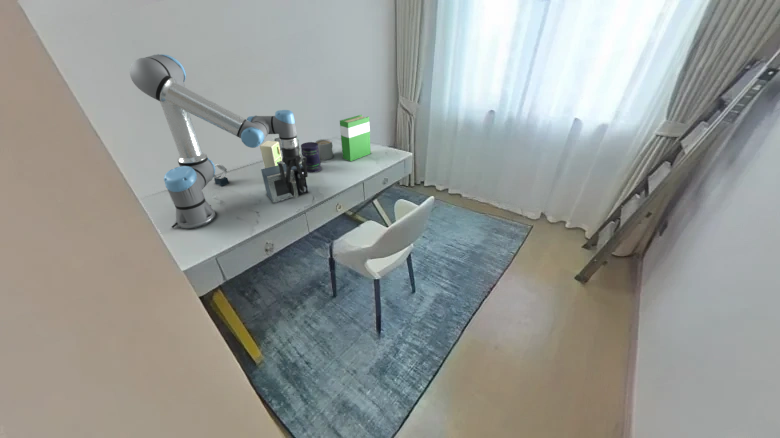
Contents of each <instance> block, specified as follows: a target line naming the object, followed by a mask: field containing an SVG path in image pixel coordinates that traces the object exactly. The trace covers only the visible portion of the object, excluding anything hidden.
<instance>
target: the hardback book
mask: <svg viewBox="0 0 780 438" xmlns="http://www.w3.org/2000/svg"><path fill="white" fill-rule="evenodd" d="M339 129H340V130H339V131H340V139H341V153H342V159H343V160H345V161H348V162H353V161H356V160H358V159H360V158H363V157H366V156H368V155H371V154H372V153H371V127H370V116H363V114H359V115H355V116H351V117H348V118H344V119H341V120H339Z"/></svg>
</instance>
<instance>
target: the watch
mask: <svg viewBox="0 0 780 438" xmlns="http://www.w3.org/2000/svg"><path fill="white" fill-rule="evenodd" d="M213 164H214V166H215V168H216V167H217V168H218V169H219V170H221V171H222V175H219V176H217V175H216V173H215V174H214V176H213V179H214V182H215V184H216V185H218V186H220V187H224V186H225V185H228V184H230V182H229V178H228V177H227V173H228V171H227V167H225V166H224V165H222V164H221V163H213Z"/></svg>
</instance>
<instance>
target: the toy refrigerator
mask: <svg viewBox="0 0 780 438" xmlns="http://www.w3.org/2000/svg"><path fill="white" fill-rule="evenodd" d="M259 149H260V154H261V158H262V162H263V166H264V169H265V168H269V167H273V166H277V165H278V164H277V162H280V161H282V159H283V156H282V151H281V146H280V141H275V140H266V141H264V142H262V143H261V144H260V145H259Z"/></svg>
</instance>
